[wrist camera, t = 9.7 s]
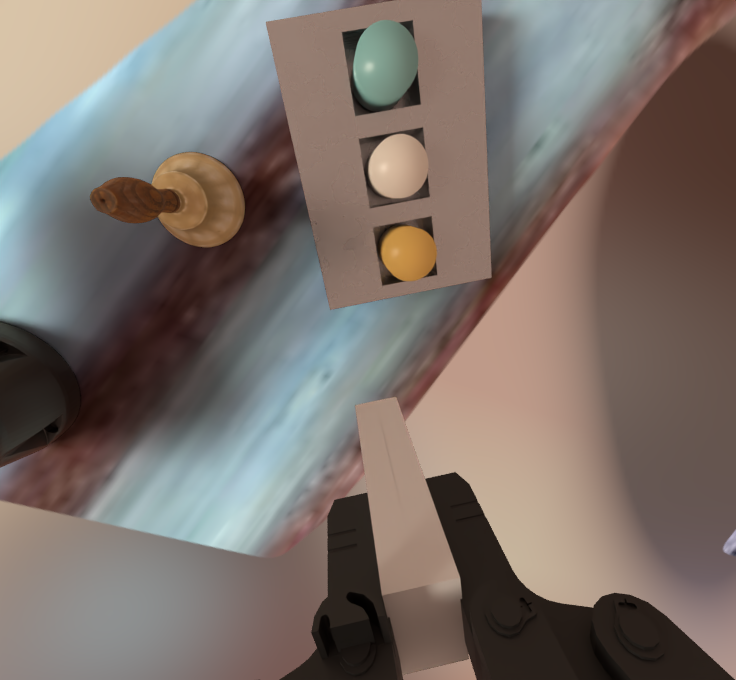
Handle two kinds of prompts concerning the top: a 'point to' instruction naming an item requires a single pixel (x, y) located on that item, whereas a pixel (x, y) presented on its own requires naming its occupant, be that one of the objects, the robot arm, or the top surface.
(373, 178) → the ivory button
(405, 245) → the amber button
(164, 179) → the hand bell
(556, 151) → the top surface
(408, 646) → the robot arm
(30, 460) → the top surface
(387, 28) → the teal button
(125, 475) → the top surface
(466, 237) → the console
